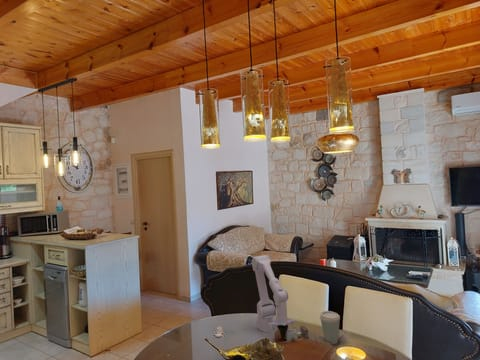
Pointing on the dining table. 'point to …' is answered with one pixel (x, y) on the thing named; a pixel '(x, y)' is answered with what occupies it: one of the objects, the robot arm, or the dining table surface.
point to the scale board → (304, 334)
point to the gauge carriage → (292, 334)
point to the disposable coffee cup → (330, 326)
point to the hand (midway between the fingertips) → (283, 338)
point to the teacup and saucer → (219, 332)
